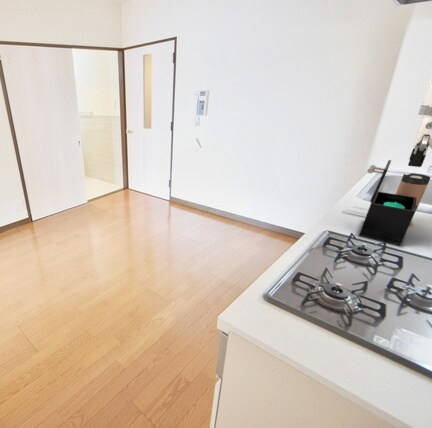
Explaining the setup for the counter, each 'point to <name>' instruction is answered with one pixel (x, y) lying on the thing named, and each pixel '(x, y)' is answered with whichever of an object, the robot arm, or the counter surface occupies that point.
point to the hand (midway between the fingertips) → (414, 163)
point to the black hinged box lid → (372, 169)
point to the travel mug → (413, 186)
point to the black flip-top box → (388, 218)
